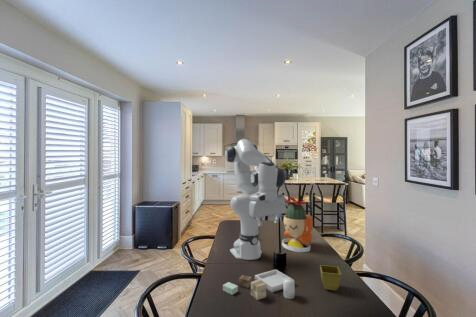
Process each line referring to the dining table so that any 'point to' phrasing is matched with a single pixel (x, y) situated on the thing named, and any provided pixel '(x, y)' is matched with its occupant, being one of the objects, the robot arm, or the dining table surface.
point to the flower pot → (330, 277)
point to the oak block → (258, 289)
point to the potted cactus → (297, 227)
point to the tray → (272, 279)
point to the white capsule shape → (288, 288)
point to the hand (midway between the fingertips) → (268, 224)
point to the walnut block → (245, 281)
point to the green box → (230, 288)
